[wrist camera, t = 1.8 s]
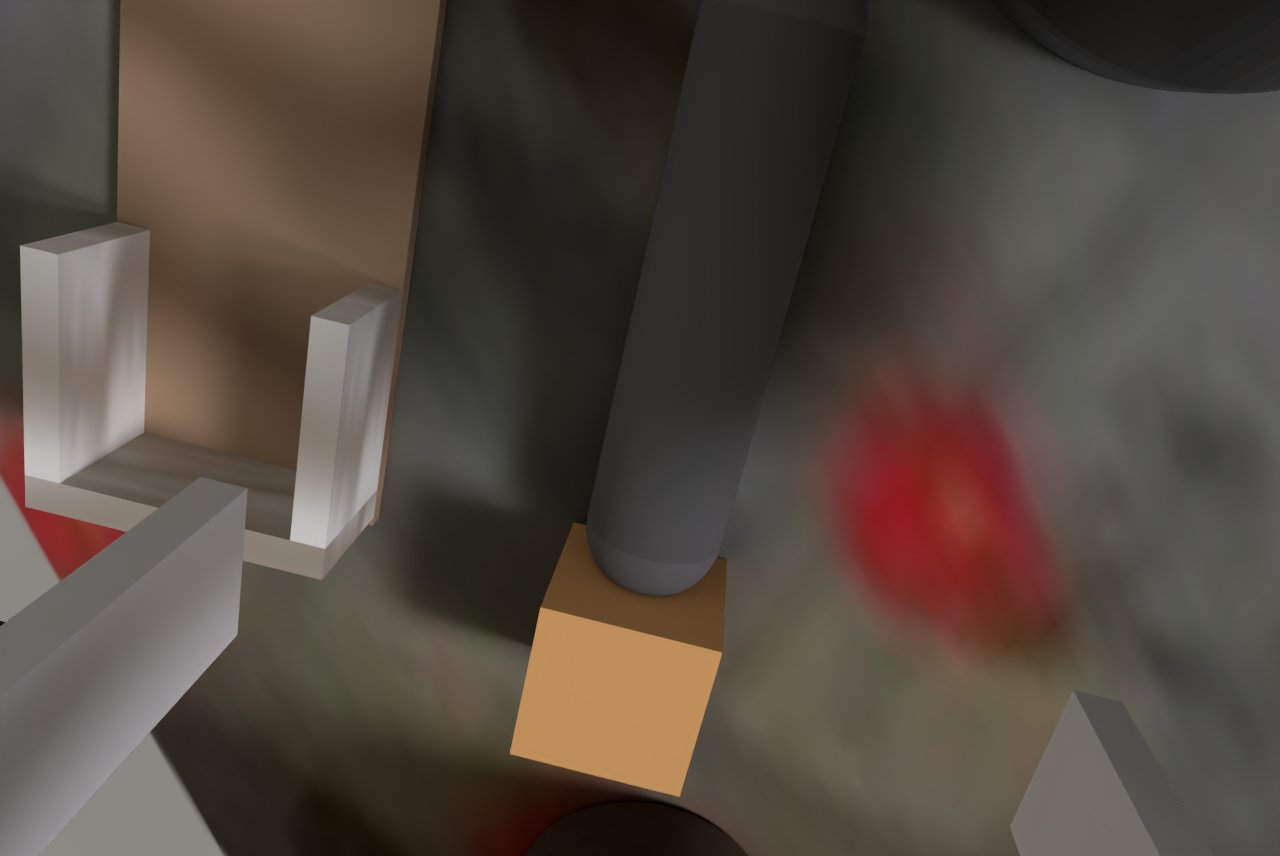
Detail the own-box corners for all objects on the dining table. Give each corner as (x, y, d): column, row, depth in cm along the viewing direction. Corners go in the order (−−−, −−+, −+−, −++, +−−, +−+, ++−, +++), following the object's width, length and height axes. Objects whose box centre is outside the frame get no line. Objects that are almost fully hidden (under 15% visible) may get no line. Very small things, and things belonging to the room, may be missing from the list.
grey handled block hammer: (704, -84, 24) (693, -122, 19) (898, -40, 24) (935, -67, 19) (545, 651, 32) (509, 753, 28) (690, 687, 32) (679, 797, 27)
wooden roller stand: (145, -569, 22) (-61, -787, 16) (510, -487, 22) (430, -678, 16) (124, 455, 31) (-11, 538, 26) (379, 517, 31) (299, 615, 26)
